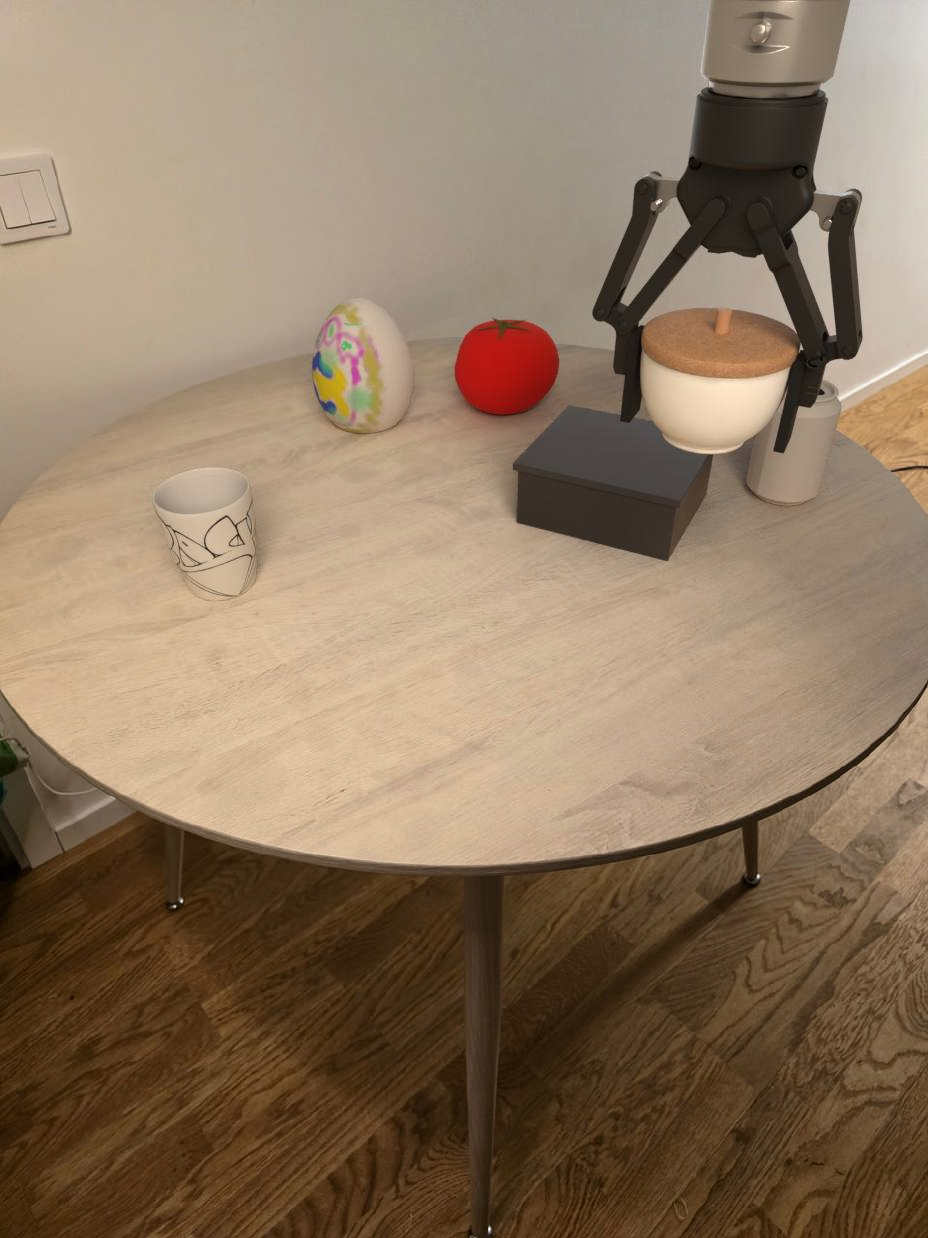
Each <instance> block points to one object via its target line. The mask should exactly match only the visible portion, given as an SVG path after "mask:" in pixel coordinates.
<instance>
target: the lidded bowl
mask: <svg viewBox="0 0 928 1238" xmlns="http://www.w3.org/2000/svg"><path fill="white" fill-rule="evenodd" d="M641 345H642V353H641V363H640V384H641V393H642V402H643V405H644V408H645V410H646V413H647V415H648V417H649V420H650V421H653V423H654V424H655V425H656V426H657V428H658V429H659V430H660V431H661V432H662V435H663V438H664V439H665V440H666V441H667V442H668V443H670V444H671V445H673V446H675V447H677V448H680V449H682V450H685V451H689V452H694V453H701V454H713V455H718V454H727V453H730V452H731V453H732V452H733V451H736V450H738V449H740V448H741V447H742V446H743V445H744V443H745V442H747V441H748V440H750V439H752V438H753V437H755V436H756V434H757V433H759V432H760V431H761V430H762V429H763V428H764V427H765V426H766V425H767V424H768V423H769V422H770V421H771V419H772V418H773V417H774V415H775V414H776V412H777V411H778V409H779V407H780V405H781V403H782V401H783V398H784V396H785V393H786V391H787V388H788V385H789V381H790V376H791V372H792V368H793V364H794V362H795V360H796V358H797V356H798V354H799V352H800V350H801V347H802V345H801V342H800V340H799V337H798V335H797V332H796V330H795V329H793V328H791V327H790V326H789V325H787V324H786V323H783V322H782V321H779V320H777V319H775V318H772V317H769V316H767V315H763V314H759V313H755V312H751V311H745V310H740V309H732V308H730V307H694V308H684V309H678V310H677V309H676V310H672V311H668V312H665V313H661V314H659V315H657V316H655V317H653V318H652V319H650V320H649V321H647V323H646V324H645V325H644V328H643V331H642V338H641Z"/></svg>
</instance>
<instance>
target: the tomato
mask: <svg viewBox="0 0 928 1238" xmlns="http://www.w3.org/2000/svg"><path fill="white" fill-rule="evenodd" d="M491 319H492V320H489V321H486V322H485V321H484V322H482V323H479V324H477V325H475V326H473V328H471V329H470V330H469V331H468V332H467V333H466V334H465V335H464V337H463V339H462V341H461V343H460V346H459V349H458V352H457V355H456V360H455V363H454V379H455V383H456V385H457V388H458V389H459V391H460V393H461V395H462V397H463V398H464V399H465V400H466V401H467V402H468V403H469V404H470V405H471V406H472V407H475V408H476V409H477V410H479V411H481V412H484V413H487V414H490V415H491V414H492V415H515V414H519V413H522V412H524V411H528V409H530V408H532V407H533V406H536V405H537V404H538V403H539V402H540V401H541V400H542V399H544V398H545V397H546V396H547V394H548V393H549V392H550V391H551V390H552V388H553V386H554V385H555V383H556V381H557V377H558V375H559V368H560V357H559V351H558V348H557V346H556V343H555V341H554V339H553V338H552V337H551V335H550V334H549V333H548V332H547V330H545V329H544V328H542V327H541V326H539V325H537V324H535V323H534V322H530V321H527V320H526V319H521V320H520V319H498V318H497V319H496V318H495V317H491Z"/></svg>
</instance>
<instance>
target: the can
mask: <svg viewBox="0 0 928 1238" xmlns="http://www.w3.org/2000/svg"><path fill="white" fill-rule="evenodd" d="M787 389H788V388H787ZM839 392H840V391H839V388H838V387H837V386H836V385H835V383H832V382H831V381H828V380H826V379H822V383H821V387H820V391H819V395H818V397H817V399H816V401H815V403H814V404H813V406H812V407H811V408H807V407H801V406H799V407H798V411H797V415H796V419H795V423H794V427H793V431H792V435H791V439H790V441H789V443H788V445H787V448H786V450H785V452H784V454H783V453H778V452H773V449H774V445H775V441H776V437H777V432H778V428H779V424H780V419H781V415H782V411H783V406H784V402H785V398H786V394H787V391H786V393H785V396H784V398H783V401H782V403H781V405H780V407H779V409H778V411H777V412H776V414H775V415H774V417H773V418H772V419H771V421H770V422H769V423H768V424H767V425H766V426H765V427H764V428H763V429H762V430H761V431H760V432H759V433H757V434H756V435H754V442H753V446H752V451H751V456H750V460H749V465H748V469H747V476H746V484H747V486H748V488H749V490H751V491H752V492H753V494H754V495H755V496H756V497H757V498H759V499H760V500H762V501H764V502H766V503H769V504H773V505H776V506H784V507H785V506H798V505H802V504H804V503H805V502H808V501H810V500H811V499H814V498H816V497H817V495H818V494H819V492H820V490H821V486H822V483H823V479H824V475H825V471H826V468H827V464H828V460H829V456H830V453H831V450H832V446H833V442H834V438H835V434H836V431H837V428H838V423H839V420H840V416H841V412H842V408H843V406H842V402H841V401H840V399H839V398H838V396H839V395H840V393H839Z"/></svg>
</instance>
